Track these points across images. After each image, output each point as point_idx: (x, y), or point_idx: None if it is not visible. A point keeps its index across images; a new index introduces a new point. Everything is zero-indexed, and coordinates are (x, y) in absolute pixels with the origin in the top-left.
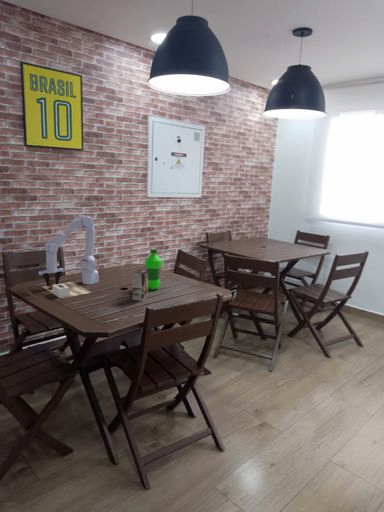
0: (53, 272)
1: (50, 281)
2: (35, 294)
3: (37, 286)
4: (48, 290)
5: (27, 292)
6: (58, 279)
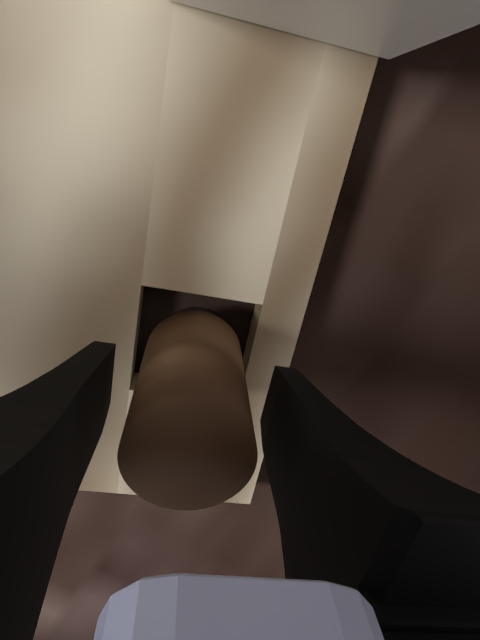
0: (355, 598)
1: (251, 424)
2: (463, 334)
3: (238, 564)
4: (300, 304)
5: (456, 455)
6: (46, 389)
